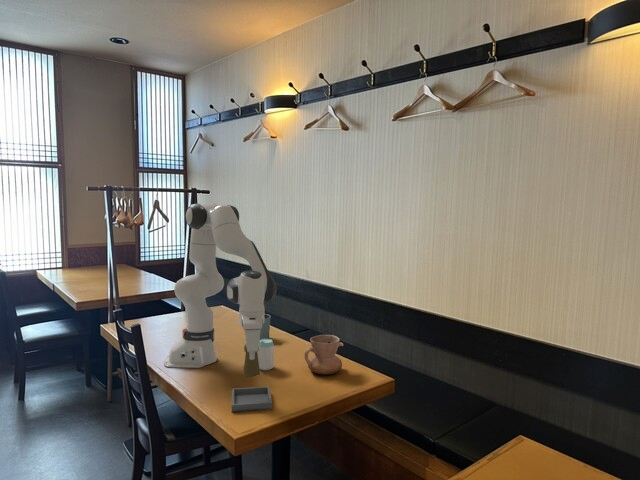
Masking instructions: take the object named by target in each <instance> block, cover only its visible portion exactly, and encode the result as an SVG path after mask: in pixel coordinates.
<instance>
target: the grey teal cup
mask: <svg viewBox="0 0 640 480" xmlns="http://www.w3.org/2000/svg"><path fill="white" fill-rule="evenodd" d="M264 316H265V317H264V323H263V325H262V329H261V330H260V340H261V339H270V328H271V318H272V316H271V315H270V314H267V313H265V314H264Z"/></svg>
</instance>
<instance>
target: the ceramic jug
mask: <svg viewBox="0 0 640 480" xmlns="http://www.w3.org/2000/svg"><path fill="white" fill-rule="evenodd" d="M309 341H310V345H311V347H307V348H306V349H305V350H304V354H303V355H304V360H305V361H306V364H307V367H308V368H309V370H310V371H311V372H313V373H315V374H317V375H323V376H324V375H325V376H327V375H328V376H329V375H333V374H336V373H338V372H340V370H342V367H343V361H342V359H341V358H339V357H338V356H336V354H337V352H338V348H339V347H344V343H343V342H340V338H339V337H338V336H336V335H334V334H320V335H315V336H312V337H310V339H309ZM310 352H311V353H314V356H313V357H311V358H310V359H309V353H310Z"/></svg>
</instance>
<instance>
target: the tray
mask: <svg viewBox="0 0 640 480" xmlns="http://www.w3.org/2000/svg"><path fill="white" fill-rule="evenodd" d="M271 410H273V401H272V394H271V389H270V386H253V387H237V388H231V413H241V412H242V413H243V412H244V413H245V412H256V411H257V412H258V411H259V412H260V411H271Z"/></svg>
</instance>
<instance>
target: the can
mask: <svg viewBox="0 0 640 480" xmlns="http://www.w3.org/2000/svg"><path fill="white" fill-rule="evenodd" d="M257 353H258V361H259V369H260V371H270V370H272V369H273V368H274V367H275V365H274V364H275V344H274V342H273V339H270V338H269V339H261V340H260V341H259V351H258V352H257Z"/></svg>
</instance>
